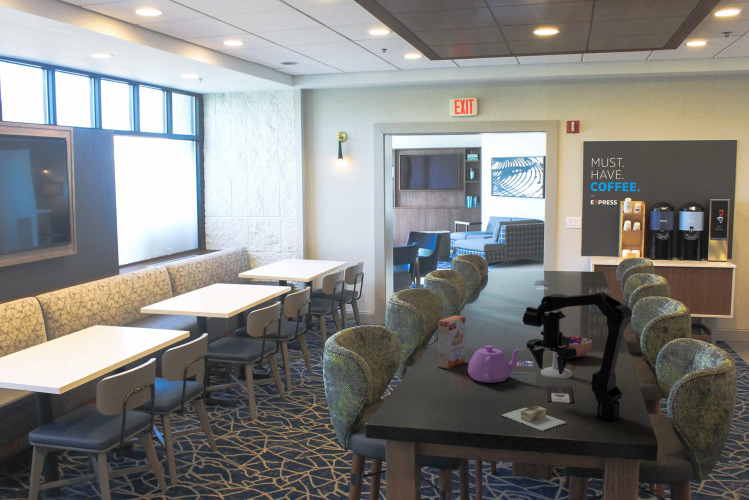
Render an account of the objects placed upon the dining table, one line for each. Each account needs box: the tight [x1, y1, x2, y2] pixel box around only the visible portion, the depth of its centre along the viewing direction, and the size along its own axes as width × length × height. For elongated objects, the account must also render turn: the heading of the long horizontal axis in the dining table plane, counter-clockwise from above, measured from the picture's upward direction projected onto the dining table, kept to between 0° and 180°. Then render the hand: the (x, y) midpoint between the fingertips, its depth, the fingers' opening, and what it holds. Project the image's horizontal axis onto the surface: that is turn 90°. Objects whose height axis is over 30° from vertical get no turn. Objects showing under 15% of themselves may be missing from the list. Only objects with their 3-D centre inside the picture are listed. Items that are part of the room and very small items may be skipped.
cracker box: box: [437, 314, 466, 370], centre depth 301 cm, size 14×6×21 cm, turn 143°
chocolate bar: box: [547, 385, 574, 404], centre depth 260 cm, size 9×1×18 cm
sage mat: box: [501, 407, 567, 432], centre depth 235 cm, size 18×12×1 cm, turn 36°
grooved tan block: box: [521, 405, 547, 422], centre depth 235 cm, size 8×4×3 cm, turn 126°
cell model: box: [561, 332, 593, 359], centre depth 310 cm, size 17×20×11 cm
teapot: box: [467, 344, 523, 384], centre depth 280 cm, size 22×22×14 cm
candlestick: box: [540, 309, 573, 380], centre depth 285 cm, size 13×13×30 cm
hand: (550, 371), depth 250 cm, fingers open, 9 cm apart
